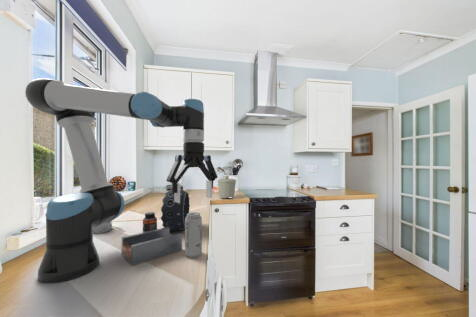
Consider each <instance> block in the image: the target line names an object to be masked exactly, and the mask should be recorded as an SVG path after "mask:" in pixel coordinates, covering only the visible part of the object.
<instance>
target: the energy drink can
mask: <svg viewBox="0 0 476 317" xmlns="http://www.w3.org/2000/svg"><path fill="white" fill-rule="evenodd" d="M202 219H203V218H202V216H201V213H200V212H194V211H193V212H189V213H188V214H187V216H186V218H185V228H184V254H185V255H186V257H187V258H189V259H195V258H198V257H200V256H201V254H202V253H203V244H202V243H203V242H202V241H203V240H202V239H203V238H202V237H203V224H202V223H203V220H202Z"/></svg>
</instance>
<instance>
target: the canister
mask: <svg viewBox="0 0 476 317" xmlns="http://www.w3.org/2000/svg"><path fill="white" fill-rule="evenodd" d="M216 181H217V187H218V188H217V189H218V197H219V198H220V197H221V198H220V199H222V198H229V197H233V198H234V197H235V191H236V183H237V180H236V179H235V178H229V175H225V176H224V178H219V179H217V180H216Z"/></svg>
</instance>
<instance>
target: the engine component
mask: <svg viewBox="0 0 476 317" xmlns="http://www.w3.org/2000/svg"><path fill="white" fill-rule="evenodd" d="M112 229H113V220H112V221H111V222H108V223H105V224H102V225H100V226H97V227H95V228H93V234H102V233H106V232H108V230H109V231H112ZM101 232H102V233H101Z"/></svg>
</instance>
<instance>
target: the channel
mask: <svg viewBox="0 0 476 317" xmlns="http://www.w3.org/2000/svg"><path fill="white" fill-rule="evenodd" d="M182 250H183V234H182V233H181V232H178V233H173V234H170V230H169V227H165V228H164V227H161V228H157V230H152V231H148V232H143V231H142V232H139V233H135V234H130V235H126V236H123V237H122V236H121V255H122V257H124V258H125V260H127V262H128V263H129V264H130V265H131V266H136V265H138V264H142V263H145V262H148V261H151V260H154V259H158V258H160V257H163V256H167V255H169V254H174V253H177V252H178V251H182Z"/></svg>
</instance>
